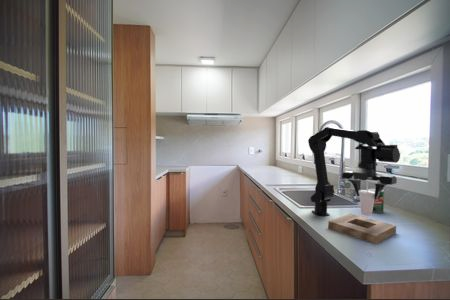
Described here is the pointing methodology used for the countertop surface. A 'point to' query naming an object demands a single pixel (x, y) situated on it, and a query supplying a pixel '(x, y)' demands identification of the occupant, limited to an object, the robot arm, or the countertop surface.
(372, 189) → the canned tomato
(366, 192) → the smoothie
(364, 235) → the hole board
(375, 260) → the countertop surface
